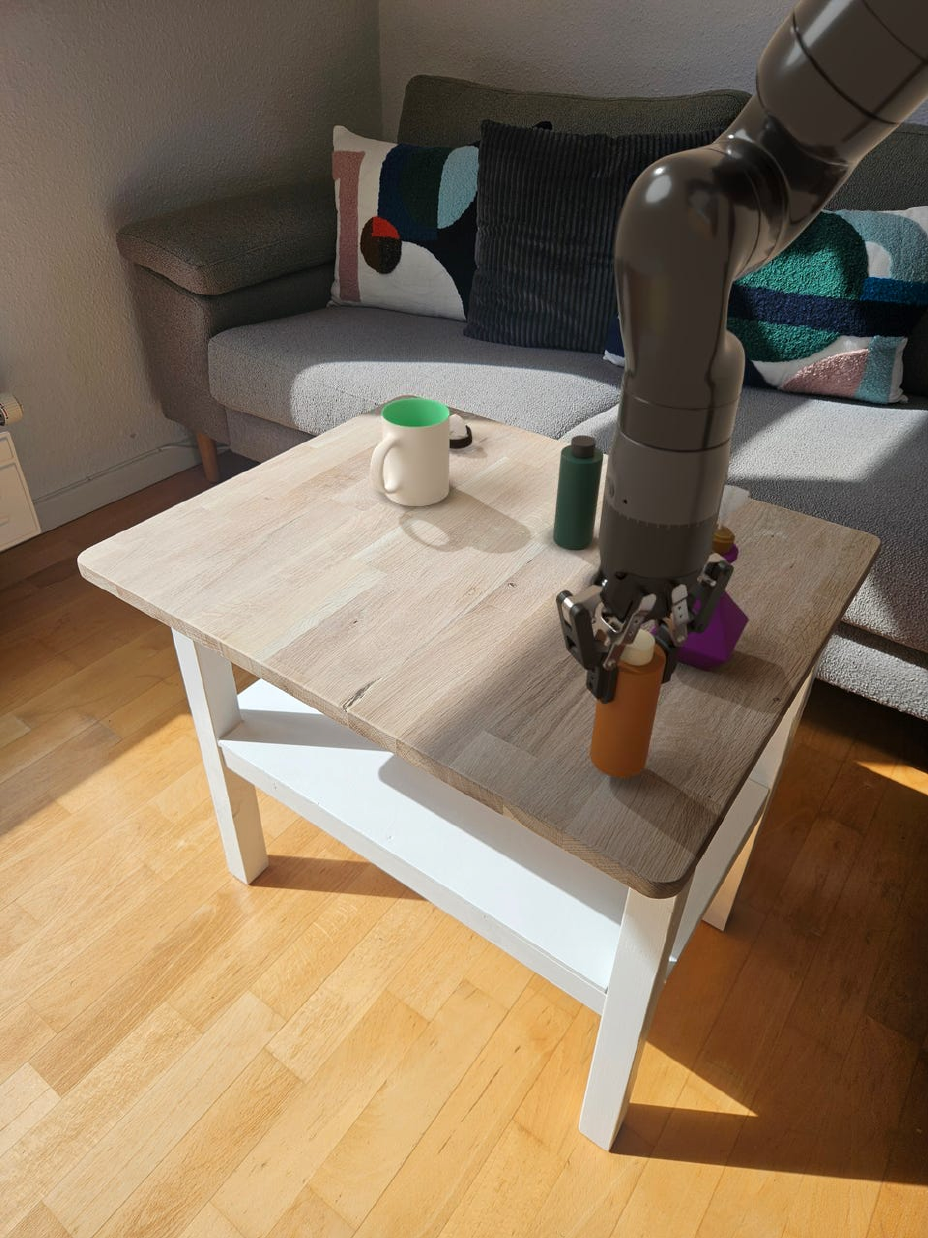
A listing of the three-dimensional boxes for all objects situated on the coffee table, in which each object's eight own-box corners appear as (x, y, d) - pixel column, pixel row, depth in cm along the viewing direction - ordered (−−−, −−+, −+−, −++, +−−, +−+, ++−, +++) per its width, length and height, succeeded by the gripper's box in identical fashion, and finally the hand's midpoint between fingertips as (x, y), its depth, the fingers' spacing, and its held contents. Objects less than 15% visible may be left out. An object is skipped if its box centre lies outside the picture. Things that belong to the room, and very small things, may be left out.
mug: (408, 527, 102) (405, 446, 96) (352, 508, 105) (347, 429, 99) (461, 484, 110) (462, 408, 104) (408, 468, 113) (406, 392, 107)
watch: (480, 445, 119) (481, 420, 117) (455, 455, 116) (456, 430, 114) (443, 426, 123) (443, 402, 121) (418, 436, 121) (417, 411, 119)
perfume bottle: (719, 688, 81) (764, 522, 70) (643, 661, 84) (675, 498, 73) (742, 644, 86) (787, 483, 75) (670, 620, 89) (702, 462, 78)
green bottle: (588, 528, 103) (600, 430, 95) (596, 549, 99) (609, 450, 91) (549, 528, 102) (559, 431, 95) (556, 550, 99) (565, 450, 91)
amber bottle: (638, 735, 73) (660, 618, 66) (652, 776, 70) (676, 657, 62) (585, 738, 73) (600, 621, 66) (595, 779, 70) (613, 660, 62)
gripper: (602, 544, 51) (576, 748, 62) (787, 493, 56) (735, 689, 67) (538, 488, 56) (524, 684, 67) (713, 446, 62) (675, 634, 72)
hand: (629, 685), depth 67 cm, fingers closed on amber bottle, 4 cm apart
